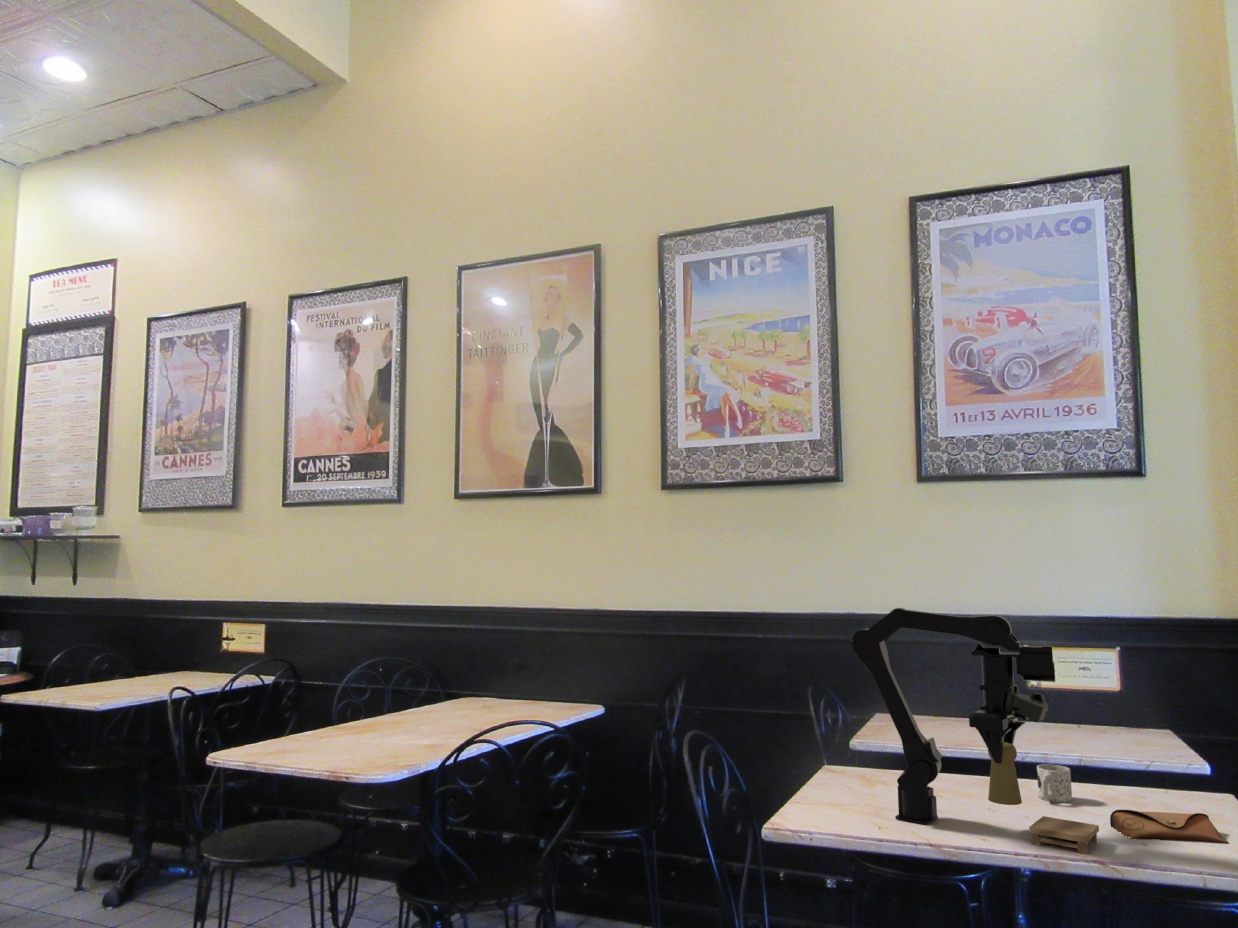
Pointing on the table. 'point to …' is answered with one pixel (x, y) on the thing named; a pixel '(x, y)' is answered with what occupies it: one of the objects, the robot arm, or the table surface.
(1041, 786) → the mug
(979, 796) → the table surface
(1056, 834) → the footstool
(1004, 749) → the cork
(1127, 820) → the sunglasses case
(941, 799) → the table surface
